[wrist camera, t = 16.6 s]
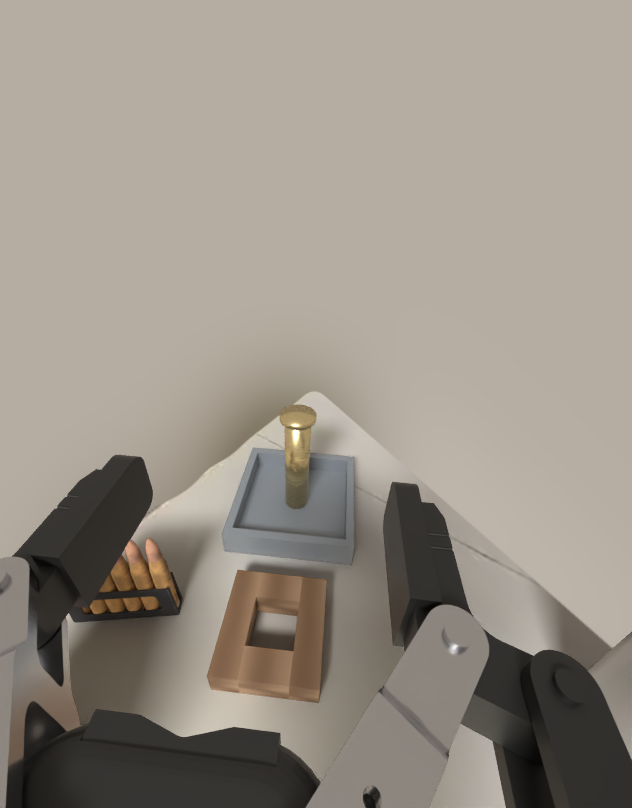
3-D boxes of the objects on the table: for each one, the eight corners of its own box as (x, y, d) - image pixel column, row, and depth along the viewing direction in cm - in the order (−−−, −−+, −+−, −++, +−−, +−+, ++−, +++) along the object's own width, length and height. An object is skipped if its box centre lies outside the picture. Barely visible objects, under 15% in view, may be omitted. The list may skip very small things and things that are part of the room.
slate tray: (351, 473, 57) (353, 457, 55) (351, 564, 44) (354, 547, 42) (254, 463, 58) (252, 447, 56) (224, 551, 45) (221, 533, 43)
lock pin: (313, 490, 52) (317, 406, 44) (310, 514, 49) (314, 427, 41) (283, 487, 53) (282, 403, 44) (278, 510, 49) (276, 424, 41)
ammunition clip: (73, 622, 37) (26, 554, 30) (81, 604, 39) (38, 535, 32) (179, 614, 38) (156, 547, 32) (182, 597, 40) (162, 529, 33)
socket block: (325, 594, 41) (326, 579, 39) (318, 702, 32) (319, 690, 31) (239, 584, 41) (237, 569, 40) (210, 689, 33) (207, 676, 31)
